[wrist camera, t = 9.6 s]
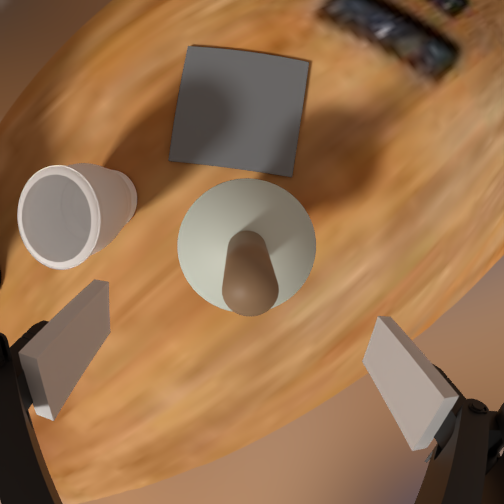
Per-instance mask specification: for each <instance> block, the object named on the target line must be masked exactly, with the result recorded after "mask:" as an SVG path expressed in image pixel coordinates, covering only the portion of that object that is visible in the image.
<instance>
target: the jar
mask: <svg viewBox="0 0 504 504" xmlns="http://www.w3.org/2000/svg"><path fill="white" fill-rule="evenodd" d="M136 206H137V193H136V189H135V186H134V184H133V183H132V181H131V180H130V179H129V177H127V176H126V175H125V174H124V173H122V172H120V171H116V170H110V169H108V168H104V167H102V166H99V165H95V164H88V163H79V164H72V165H68V166H65V165H53V166H48V167H45V168H43V169H41V170H39V171H38V172H36V173H35V174H34V175H33V176H32V177H31V178H30V179H29V180H28V182H27V183H26V185H25V186H24V188H23V190H22V193H21V196H20V199H19V203H18V211H17V219H18V227H19V232H20V235H21V238H22V240H23V242H24V244H25V246H26V248H27V250H28V251H29V252H30V254H31V255H32V256H33V257H34V258H35V259H36V260H37V261H39V262H40V263H41V264H43V265H45V266H47V267H49V268H53V269H58V270H65V269H70V268H73V267H75V266H77V265H79V264H81V263H82V262H84V261H85V260H86V259H87V258H88V257H89V256H90V255H92V254H95V253H96V252H98V251H100V250H102V249H103V248H105V247H106V246H107V245H108V244H109V243H111V242H112V241H113V240H114V238H115V237H116V236H117V235H118V233H119V232H120V231H121V229H122V228H123V227H124V225H126V224H127V223H128V222H129V221H130V219H131V218H132V217H133V215H134V213H135V210H136Z"/></svg>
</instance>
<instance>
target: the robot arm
mask: <svg viewBox="0 0 504 504" xmlns="http://www.w3.org/2000/svg"><path fill="white" fill-rule="evenodd" d="M0 283H1V272H0ZM109 334H110V315H109V282H106V281H100V280H95V279H94V280H93V281H92V282H91V283H90V284H89V285H88V286H87V287H86V288H84V289H83V290H82V291H81V292H80V293H79V294H78V295H77V296H76V297H75V298H74V299H73V300H71V301H70V302H69V303H68V304H67V305H66V306H65V307H64V308H63V309H62V310H61V311H60V312H59V313H58V314H57V315H56V316H55V317H54V318H52V319H51V320H50V321H49V322H48V321H44V320H43V321H41V322H39V323H37V324H35V325H33V326H32V327H31V328H30V329H29V330H28V331H27V333H25V334H23V335H22V338H19V339H18V340H17V341H16V342H15V343H14V344H13V345H12V346H11V347H10V348H9V344H8V340H7V338H6V336H5V335H4V334H2V333H0V500H1V503H2V504H62V501H61V499H60V497H59V495H58V493H57V490H56V488H55V486H54V483H53V481H52V478H51V476H50V474H49V471H48V468H47V466H46V463H45V460H44V458H43V455H42V452H41V449H40V446H39V443H38V440H37V437H36V434H35V431H34V428H33V424H32V421H31V417H30V414H29V411H28V409H29V407H30V406H31V404H32V403H33V405H34V408H35V411H36V414H37V415H40V416H42V417H45V418H48V419H50V420H53V421H54V420H55V418H56V416H57V415H58V413H59V411H60V410H61V408H62V406H63V405H64V403H65V401H66V400H67V398H68V397H69V395H70V393H71V392H72V390H73V389H74V387H75V385H76V384H77V382H78V381H79V379H80V377H81V376H82V374H83V373H84V371H85V370H86V368H87V367H88V365H89V364H90V362H91V360H92V359H93V357H94V356H95V354H96V353H97V351H98V350H99V348H100V347H101V345H102V344H103V342H104V341H105V339H106V338H107V336H108V335H109ZM362 362H363V364H364V365H365V367H366V369H367V370H368V372H369V374H370V375H371V377H372V379H373V381H374V383H375V384H376V386H377V388H378V390H379V391H380V393H381V395H382V397H383V399H384V400H385V402H386V403H387V406H388V407H389V409H390V411H391V413H392V415H393V416H394V418H395V420H396V422H397V424H398V426H399V427H400V429H401V431H402V433H403V435H404V437H405V438H406V440H407V442H408V444H409V446H410V448H411V450H412V451H413V450H419V449H424V448H427V447H428V446H429V444H430V443H431V441H432V440H433V438H435V439H436V441H437V445H436V446H435V448H434V449H433V451H432V452H431V453H430V455H429V456H428V457H427V459H426V460H425V462H428V460H429V459H430V462H429V465H428V468H427V471H426V475H425V477H424V480H423V483H422V485H421V488H420V491H419V493H418V496H417V498H416V501H415V503H414V504H504V451H503V454H502V456H501V457H500V453H499V452H500V451H501V449H502V448H503V447H504V403H503V404H502V406H501V407H500V409H499V411H498V412H497V411H489V409H488V408H487V406H486V405H485V404H483V403H482V402H480V401H478V400H475V399H466V398H465V397H464V396H463V395H462V393H461V392H460V391H459V390H458V389H457V388H456V386H455V385H454V384H453V383H452V381H451V380H450V379H449V378H447V376H446V374H445V373H444V372H443V371H442V370H441V369H440V368H438V367H437V366H435V365H434V364H432V363H431V362H430V361H429V360H428V359H427V357H426V356H425V355H424V354H423V353H422V352H421V350H420V349H419V348H418V347H417V346H416V345H415V344H414V343H413V341H412V340H411V339H410V338H409V337H408V336H407V335H406V333H405V332H404V331H403V330H402V329H401V328H400V327H399V326H398V324H397V323H396V322H395V321H394V320H393V319H392V318H391V317H385V316H378V318H377V321H376V324H375V327H374V330H373V333H372V336H371V339H370V341H369V344H368V347H367V350H366V353H365V355H364V358H363V361H362Z"/></svg>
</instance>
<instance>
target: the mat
mask: <svg viewBox="0 0 504 504" xmlns="http://www.w3.org/2000/svg"><path fill="white" fill-rule="evenodd" d="M308 66H309V62H306V61H301V60H296V59H291V58H285V57H280V56H274V55H268V54H261V53H254V52H247V51H239V50H230V49H220V48H208V47H193V46H188V49H187V54H186V59H185V64H184V69H183V74H182V79H181V84H180V90H179V95H178V101H177V107H176V113H175V119H174V125H173V132H172V139H171V146H170V153H169V161H175V162H185V163H194V164H203V165H211V166H219V167H227V168H235V169H242V170H249V171H256V172H263V173H269V174H275V175H282V176H288V177H292V174H293V168H294V161H295V155H296V149H297V142H298V135H299V129H300V122H301V115H302V109H303V102H304V95H305V88H306V80H307V73H308Z"/></svg>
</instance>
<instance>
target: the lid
mask: <svg viewBox="0 0 504 504" xmlns="http://www.w3.org/2000/svg"><path fill="white" fill-rule="evenodd" d="M315 253H316V238H315V232H314V228H313V225H312V222H311V220H310V217H309V215H308V214H307V212H306V210H305V209H304V207H303V206H302V205H301V204H300V202H299V201H298V200H297V199H296V198H295V197H294V196H293V195H292V194H290V193H289V192H287V191H286V190H285V189H283V188H281V187H279V186H277V185H275V184H273V183H270V182H267V181H264V180H259V179H250V178H245V179H235V180H230V181H227V182H224V183H221V184H219V185H217V186H215V187H213V188H211V189H210V190H208V191H207V192H205V193H204V194H203V195H202V196H200V197H199V198H198V199H197V200H196V201H195V202H194V204H193V205H192V206H191V207H190V209H189V210H188V212H187V213H186V215H185V217H184V219H183V221H182V224H181V227H180V230H179V236H178V258H179V262H180V266H181V268H182V271H183V273H184V275H185V277H186V279H187V281H188V282H189V284H190V285H191V286H192V288H193V289H194V290H195V291H196V292H197V293H198V294H199V295H200V296H201V297H202V298H204V299H205V300H206V301H208V302H210V303H211V304H213V305H215V306H217V307H219V308H222V309H225V310H228V311H233V312H235V313H237V314H239V315H243V316H258V315H261V314H263V313H265V312H267V311H268V310H269V309H271V308H273V307H276V306H278V305H280V304H282V303H283V302H285V301H287V300H288V299H289V298H290V297H292V296H293V295H294V294H295V293H296V292H297V291H298V290H299V289H300V288H301V286H302V285H303V284H304V283H305V281H306V279H307V278H308V276H309V274H310V271H311V269H312V267H313V263H314V259H315Z"/></svg>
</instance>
